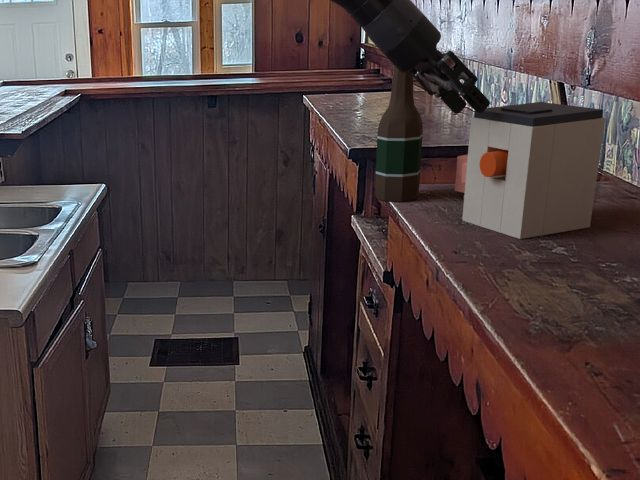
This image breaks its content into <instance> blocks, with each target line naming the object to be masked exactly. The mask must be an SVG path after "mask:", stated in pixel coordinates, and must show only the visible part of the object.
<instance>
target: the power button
mask: <svg viewBox="0 0 640 480" xmlns="http://www.w3.org/2000/svg"><path fill="white" fill-rule="evenodd" d="M507 160H508V150H502V151H495V152H487V153H485V154H483V155H482V157H481V159H480V170H481V173H482V174H483V175H484V176H485V177H494V176H501V175H506V169H507Z"/></svg>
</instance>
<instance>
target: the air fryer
mask: <svg viewBox="0 0 640 480" xmlns="http://www.w3.org/2000/svg"><path fill="white" fill-rule="evenodd" d="M603 115H604V109H601V108H595V107H586V106H578V105H570V104H561V103H555V102H554V103H552V102H545V101H536V102H528V103H517V104H512V105H501V106H493V107H487V108H486V109H485V110H484V111H483V112H482V113H477V112H476V111H475V110H474V112H473V117H470V124H469V125H470V126H469V137H468V148H467V149H468V150H467V155H468V159H467V171H466V183H465V193H464V195H463V196H464V198H463V207H462V218H461V219H462V222H465V223H469V224H471V225H475V226H476V227H477V226H478V227H481V228H483V229H487V230H489V231H492V232H496V233H499V234H503V235H506V236H508V237H512V238H515V239H518V240H523V239H529V238H534V237H541V236H547V235H552V234H558V233H565V232H570V231H577V230H581V229H589V228H591V221H592V214H593V208H594V202H595V194H596V187H597V180H598V174H599V166H600V160H601V152H602V147H603V146H602V145H603V138H604V131H605V125H606V118H605V117H603ZM502 150H508V160H507V169H506V175H501V176H494V177H485V176H484V175H483V174H482V173H481V170H480V159H481V157H482V155H483V154H485V153H487V152H495V151H502Z"/></svg>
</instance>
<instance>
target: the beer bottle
mask: <svg viewBox="0 0 640 480" xmlns="http://www.w3.org/2000/svg"><path fill="white" fill-rule="evenodd" d="M423 126H424V125H423V120H422V117H421V114H420V112H419V110H418V109H417V106H416V105H415V97H414V77H413V76H412V75H411V74H410V73H409V72H408V71H407V72H400V71H399V70H398V69H397V68H396V66H395V65H394V64H393V72H392V82H391V90H390V99H389V103H388V106H387V108H386V110H385V111H384V112H383V114H382V116H381V118H380V120H379V123H378V127H377V135H376V154H375V155H376V157H375V178H374V179H375V180H374V181H375V182H374V196H375V199H377V200H380V201H382V202H386V203H387V202H389V203H404V202H413V201H415V200H416V199H417V197H418V196H419V191H420V181H421V168H422V165H421V164H422V153H423V151H422V150H423V136H424V135H423V134H424V131H423V130H424V129H423Z"/></svg>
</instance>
